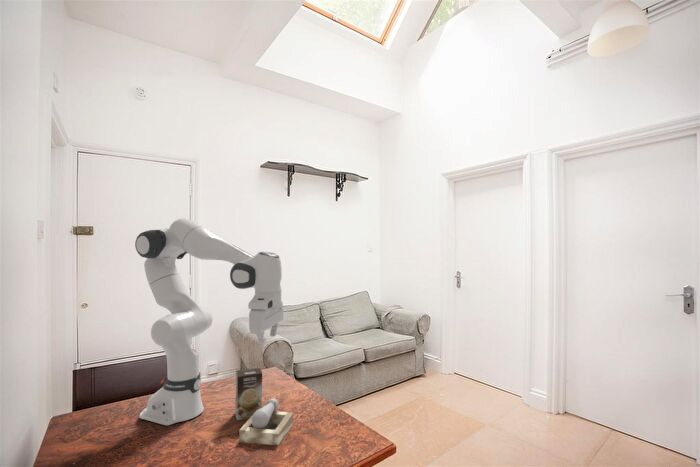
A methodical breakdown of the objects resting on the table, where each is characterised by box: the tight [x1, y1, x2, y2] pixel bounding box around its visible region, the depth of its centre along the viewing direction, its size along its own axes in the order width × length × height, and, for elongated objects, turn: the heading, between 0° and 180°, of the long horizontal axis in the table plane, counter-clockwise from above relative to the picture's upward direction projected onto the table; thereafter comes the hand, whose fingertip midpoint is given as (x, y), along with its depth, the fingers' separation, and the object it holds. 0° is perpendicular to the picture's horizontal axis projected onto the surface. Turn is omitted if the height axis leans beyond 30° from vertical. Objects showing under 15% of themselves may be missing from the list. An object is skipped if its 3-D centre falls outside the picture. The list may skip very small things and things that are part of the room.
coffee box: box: [235, 367, 263, 421], centre depth 130 cm, size 9×6×16 cm
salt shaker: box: [252, 398, 279, 428], centre depth 119 cm, size 6×6×13 cm
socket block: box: [238, 409, 294, 446], centre depth 118 cm, size 14×14×4 cm
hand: (267, 339), depth 118 cm, fingers open, 8 cm apart
